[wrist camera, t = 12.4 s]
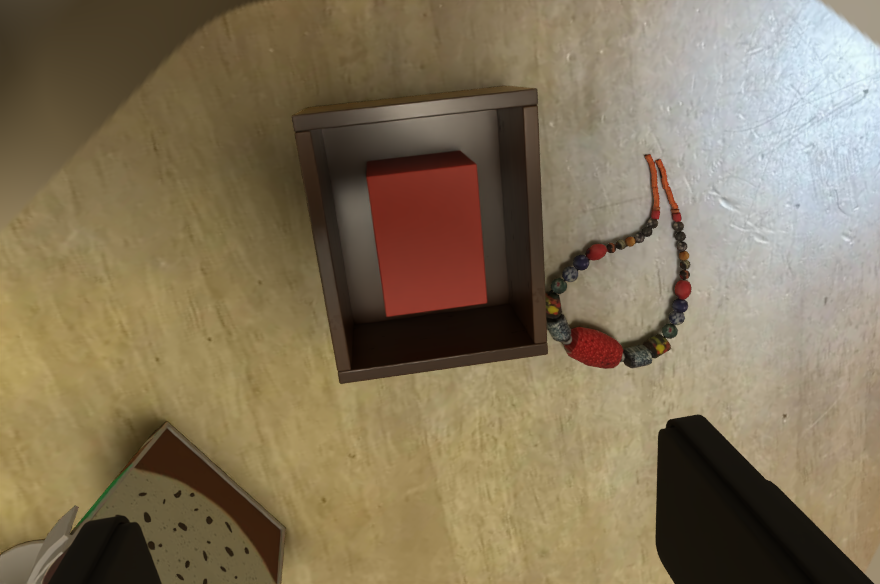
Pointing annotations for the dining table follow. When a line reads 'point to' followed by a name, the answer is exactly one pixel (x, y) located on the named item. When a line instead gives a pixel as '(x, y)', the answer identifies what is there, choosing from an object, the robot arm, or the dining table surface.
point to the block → (427, 232)
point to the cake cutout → (181, 519)
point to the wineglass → (19, 562)
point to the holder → (353, 241)
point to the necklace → (598, 345)
